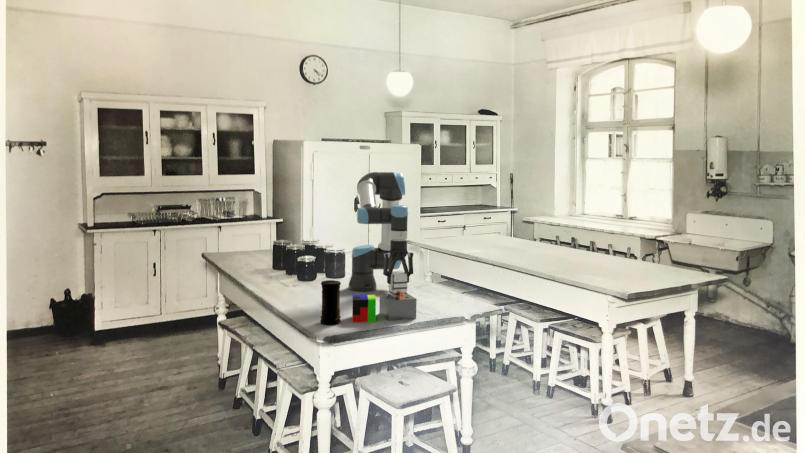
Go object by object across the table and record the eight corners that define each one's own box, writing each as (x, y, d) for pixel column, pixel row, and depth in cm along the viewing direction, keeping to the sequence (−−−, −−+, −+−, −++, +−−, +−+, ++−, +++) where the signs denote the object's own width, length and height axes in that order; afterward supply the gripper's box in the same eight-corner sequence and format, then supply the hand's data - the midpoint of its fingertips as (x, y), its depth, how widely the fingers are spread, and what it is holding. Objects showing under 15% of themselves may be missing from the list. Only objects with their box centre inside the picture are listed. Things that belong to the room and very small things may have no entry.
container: (329, 318, 292) (329, 279, 290) (345, 322, 287) (345, 281, 285) (315, 323, 285) (315, 282, 283) (331, 326, 280) (331, 285, 277)
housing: (388, 320, 291) (389, 294, 289) (379, 313, 303) (379, 288, 301) (416, 318, 295) (416, 292, 294) (405, 311, 307) (406, 286, 306)
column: (393, 318, 295) (394, 274, 292) (388, 314, 301) (389, 271, 298) (406, 317, 297) (407, 273, 295) (401, 313, 303) (402, 271, 301)
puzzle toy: (352, 316, 297) (352, 294, 296) (374, 316, 298) (374, 294, 297) (352, 322, 287) (352, 300, 286) (375, 322, 288) (375, 299, 287)
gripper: (381, 241, 288) (380, 293, 291) (421, 240, 295) (420, 290, 297) (375, 239, 295) (375, 289, 298) (415, 237, 302) (414, 287, 304)
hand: (397, 290), depth 297 cm, fingers closed on column, 6 cm apart
